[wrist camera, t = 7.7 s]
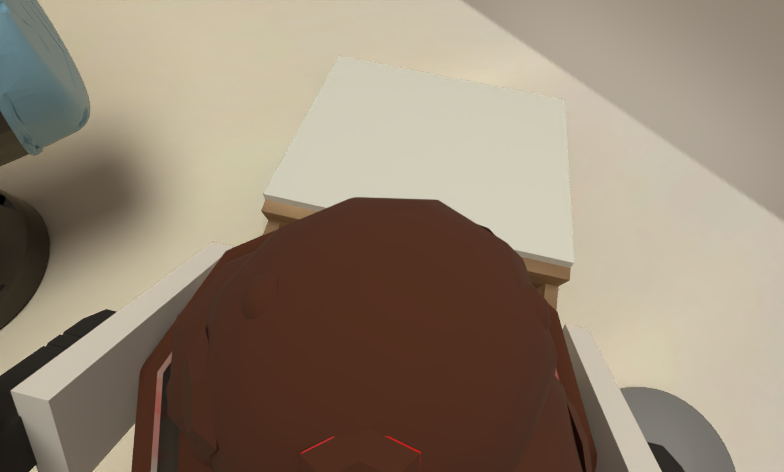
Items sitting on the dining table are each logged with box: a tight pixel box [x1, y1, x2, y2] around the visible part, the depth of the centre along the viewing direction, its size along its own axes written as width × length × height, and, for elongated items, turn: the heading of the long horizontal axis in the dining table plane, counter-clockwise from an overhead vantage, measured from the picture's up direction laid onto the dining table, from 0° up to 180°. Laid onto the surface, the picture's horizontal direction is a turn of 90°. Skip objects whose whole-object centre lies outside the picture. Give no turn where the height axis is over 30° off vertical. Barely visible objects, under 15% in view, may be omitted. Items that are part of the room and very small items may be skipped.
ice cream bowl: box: [132, 197, 597, 472], centre depth 11 cm, size 11×11×15 cm
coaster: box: [620, 387, 736, 472], centre depth 30 cm, size 12×12×1 cm
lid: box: [263, 55, 574, 268], centre depth 36 cm, size 20×24×7 cm
